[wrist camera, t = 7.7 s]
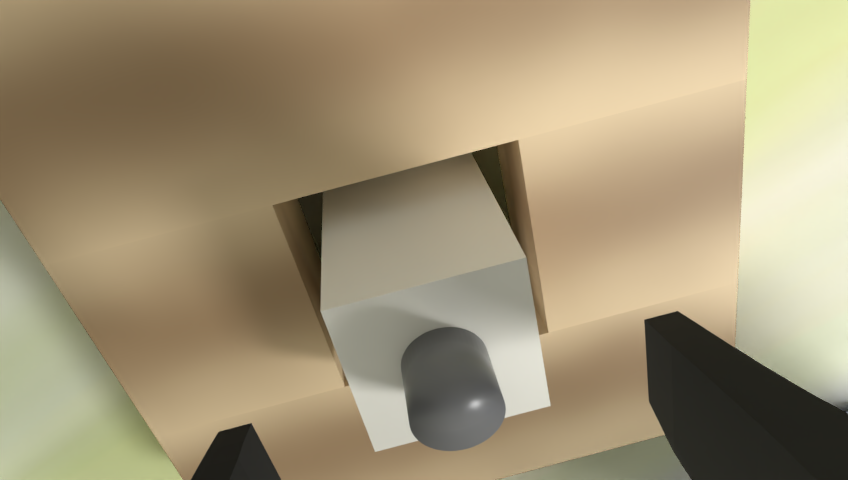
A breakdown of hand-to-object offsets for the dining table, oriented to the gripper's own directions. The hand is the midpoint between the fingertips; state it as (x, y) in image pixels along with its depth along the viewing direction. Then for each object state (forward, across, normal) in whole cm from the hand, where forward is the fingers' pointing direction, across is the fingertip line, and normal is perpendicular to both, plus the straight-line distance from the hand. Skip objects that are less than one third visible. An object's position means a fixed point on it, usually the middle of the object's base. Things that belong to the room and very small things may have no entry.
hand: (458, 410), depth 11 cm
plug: (+8, 0, 0) cm, 8 cm away
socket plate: (+8, 0, 0) cm, 8 cm away
